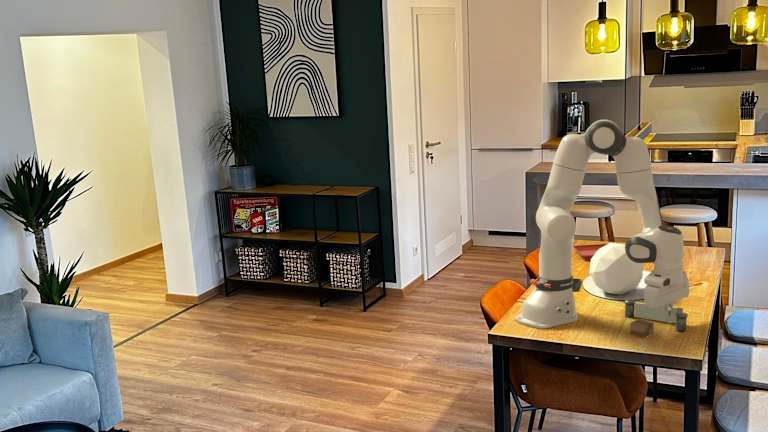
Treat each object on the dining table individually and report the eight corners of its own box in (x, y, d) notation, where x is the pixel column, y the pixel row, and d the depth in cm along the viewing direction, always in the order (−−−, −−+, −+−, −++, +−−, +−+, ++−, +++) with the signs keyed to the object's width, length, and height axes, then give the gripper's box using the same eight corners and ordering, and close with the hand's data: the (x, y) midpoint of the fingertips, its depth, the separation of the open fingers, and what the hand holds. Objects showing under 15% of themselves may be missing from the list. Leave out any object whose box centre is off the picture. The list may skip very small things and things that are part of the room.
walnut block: (643, 338, 223) (644, 326, 222) (630, 334, 227) (630, 322, 226) (653, 334, 225) (653, 322, 225) (639, 330, 229) (640, 318, 229)
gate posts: (683, 333, 224) (683, 317, 223) (622, 316, 242) (622, 301, 241) (689, 330, 226) (689, 314, 225) (628, 314, 244) (628, 298, 243)
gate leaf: (681, 324, 231) (681, 309, 230) (634, 316, 240) (634, 302, 239) (682, 322, 233) (682, 308, 232) (635, 315, 241) (635, 301, 240)
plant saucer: (581, 262, 312) (581, 254, 311) (572, 252, 330) (572, 245, 329) (622, 260, 311) (622, 253, 311) (611, 250, 329) (611, 243, 328)
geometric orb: (629, 312, 266) (651, 279, 251) (578, 293, 268) (597, 260, 254) (633, 276, 278) (655, 243, 264) (584, 258, 281) (603, 225, 266)
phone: (556, 288, 274) (561, 277, 287) (556, 291, 274) (561, 280, 288) (577, 289, 271) (581, 278, 285) (577, 292, 271) (581, 281, 285)
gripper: (677, 267, 238) (676, 306, 241) (641, 279, 226) (640, 320, 229) (695, 270, 233) (693, 310, 236) (658, 283, 221) (657, 325, 224)
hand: (666, 315), depth 232 cm, fingers closed
